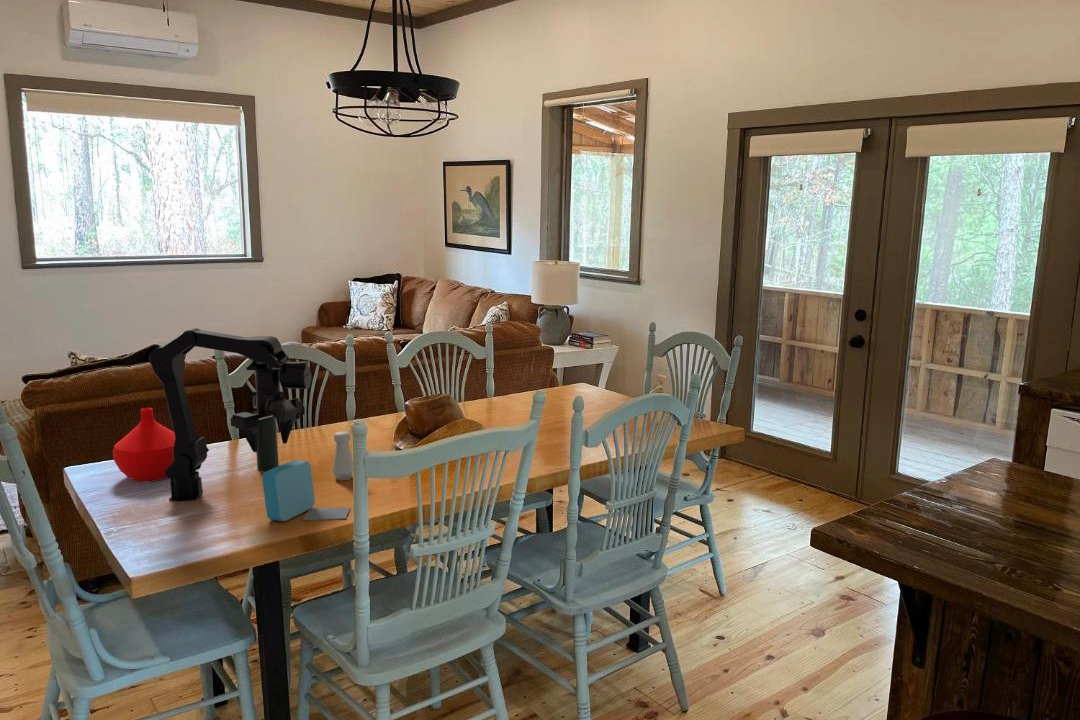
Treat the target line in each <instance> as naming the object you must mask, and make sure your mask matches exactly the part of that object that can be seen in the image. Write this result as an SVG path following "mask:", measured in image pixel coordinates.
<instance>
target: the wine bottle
mask: <svg viewBox="0 0 1080 720" xmlns="http://www.w3.org/2000/svg"><path fill="white" fill-rule="evenodd" d="M252 396H253V395H252ZM252 406H253V407H257V404H256V396H253V397H252ZM253 407H252V408H253ZM253 414H257V412H254V411H253ZM263 416H266V415H263ZM257 427H260V429H259V430H258V432H257V452H255V454H256V466H257V471H260V472H266V471H268V470H270V469H273V468H275V467H278V466H280V464H279V449H278V433H277V418H275V417H273V418H269V419H265V420H261V421H259V424H258V425H257Z"/></svg>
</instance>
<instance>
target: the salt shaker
mask: <svg viewBox="0 0 1080 720" xmlns="http://www.w3.org/2000/svg"><path fill="white" fill-rule="evenodd" d="M333 438H334V440H333V441H334V442H336V443H335V450H334V452H335V453H334V459H333V467H332V473H333V475H334V476H335V479H336V480H337V479H338V480H337V481H343V480H345V481H348V480H351V479H352V477H353V475H352V471H353V465H354V462H353V458H352V453H351V449H350V444H349V441H350V440H351V435H350V433H349V431H343V430H342V431H338V432H337V431H336V432H335V433H334V434H333Z"/></svg>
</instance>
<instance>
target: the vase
mask: <svg viewBox="0 0 1080 720" xmlns="http://www.w3.org/2000/svg"><path fill="white" fill-rule="evenodd" d="M153 410H154V408H152V407H144V408H141V409H140V415H141V416H140V417H141V418H140V421H139V423H138V424H137V426H135V427H134V428H133V429H132V430H131V431H129V433H127V434H126V435H125V436H123V437H122V438H121V439H120V440H119V441H118V442H117V443H115V444H114V447H113V448H112V457H113V461H114V463H115V464H116V466H117V468H118V470H119V471H120V472H121V473H122V474H124V475H125V476H126V477H127V478H129V479H131V480H132V481H135V482H139V481H151V482H157V481H161V479H162V480H164V478H165V479H168V478H167V476H166V474H165V470H166V469H167V468H168V467H169V466H170V465H171V464H172V463H173V462H174V460H173V447H174V442H175V434H174V430H171V429H169V428H167V427H166V426H164V425H162V423H161V424H160V423H159V422H157V420H155V418H154V411H153ZM156 480H157V481H156Z"/></svg>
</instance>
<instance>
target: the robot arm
mask: <svg viewBox="0 0 1080 720" xmlns="http://www.w3.org/2000/svg"><path fill="white" fill-rule="evenodd" d="M195 347H196V348H204V349H211V350H215V351H221V352H229V353H234V354H238V355H241V356H243V357H245V358H247V359H248V360H251V363H250V364H249V365H248V366H247V367H246V369H245V370H246V371H254V374H255V377H254V378H255V390H254V391H252V396H256V404H257V407H252V408H253V409H252V410H253V413H252V412H251V413H250V412H246V411H243V412H239V413H233V414H232V416H231V417H230V426H231V427H235V429H238V430H240V432H241V433H242V435H243V436H244V438H245V440H246V441H247V443H248V445H249V446H250V449H251V450H252V453H253V452H254V453H256V452H257V432H258V430H259V429H260V427H257V425H258V424H259V421H261V420H265V419H269V418H273V417H275V418H276V421H278V424H279V431H280V437H281V438H280V439H281V441H282V443H283V444H284V445H286V444H287V443H288V440H289V437H290V434H291V432H292V429H293V427H294V424H295V423H296V422H297V421H298V420H299V419H302V416H304V415H306V408H305V406H304V404H303V403H302V400H301V399H300V398H299V397H295V398H292V399H286V397H285V393H284V392H285V391H282V390H281V387H283V388H284V389H297V390H309V389H310V387H311V384H312V377H313V376H312V372H311V368H310V367H309V362H308V361H292V360H291V359H290V357H289V356H288V355H287V353H286V352H285V351H284V350H283V348H282V344H281V342H280V341H279V339H278V338H277V337H275V336H272V335H268V336H267V335H266V336H265V335H263V336H262V335H261V336H259V335H258V336H239V335H234V334H228V333H222V332H216V331H215V332H214V331H210V330H203V329H200V328H197V327H196V328H191V329H187V330H185V331H184V332H183V333H182V334H180V335H179V336H178V337H176V338H174V339H173V340H172V341H170V342H168V343H167V344H164V345H161V346H158V347H156V348H154V349H153V350H151V352H150V354H149V357H148V361H149V363H150V366H151V368H152V371H153V372H154V374H155V376H156V377H157V378H158V380H160V382H161V384H162V387H163V391H164V394H165V399H166V404H167V408H168V412H169V416H170V420H171V425H172V429H173V432H174V434H175V442H174V447H173V460H174V462H173V463H172V464H171V465H170V466H169V467H168V468H167V469H166V470H165V474H166V476H167V478H166V479H167V480H169V483H170V485H169V486H170V495H171V496H170V497H169V498H168V501H170V502H175V501H179V502H180V501H182V502H183V501H196V500H197V498H198V497H200V495H201V494H202V493H204V490H203V481H202V477H201V476H200V472H199V471H198V470H200V469H201V467H202V464H203V463H204V462H205V461H206V459H207V457H208V452H210V449H209V448H208V445H207V439H206V437H205V436H202V437H201V436H199V435H198V434H197V432H196V431H195V430H196V429H195V426H194V421H193V418H192V412H191V408H190V405H189V400H188V395H187V392H186V387H185V383H184V372H185V366H186V361H185V358H186V357H185V355H186V354H188V353H189V352H191V351H192V350H193V349H194V348H195ZM254 412H257V414H254ZM263 415H266V416H263Z"/></svg>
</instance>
